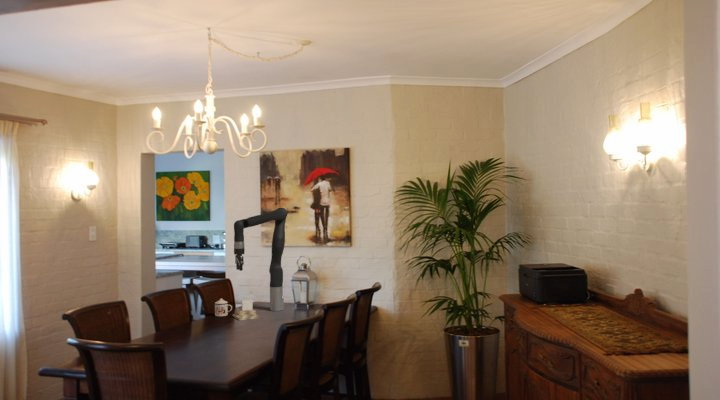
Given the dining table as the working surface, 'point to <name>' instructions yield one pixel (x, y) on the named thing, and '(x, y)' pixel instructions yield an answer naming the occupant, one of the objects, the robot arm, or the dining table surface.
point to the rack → (245, 314)
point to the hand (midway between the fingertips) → (239, 270)
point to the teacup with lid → (221, 308)
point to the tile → (247, 305)
